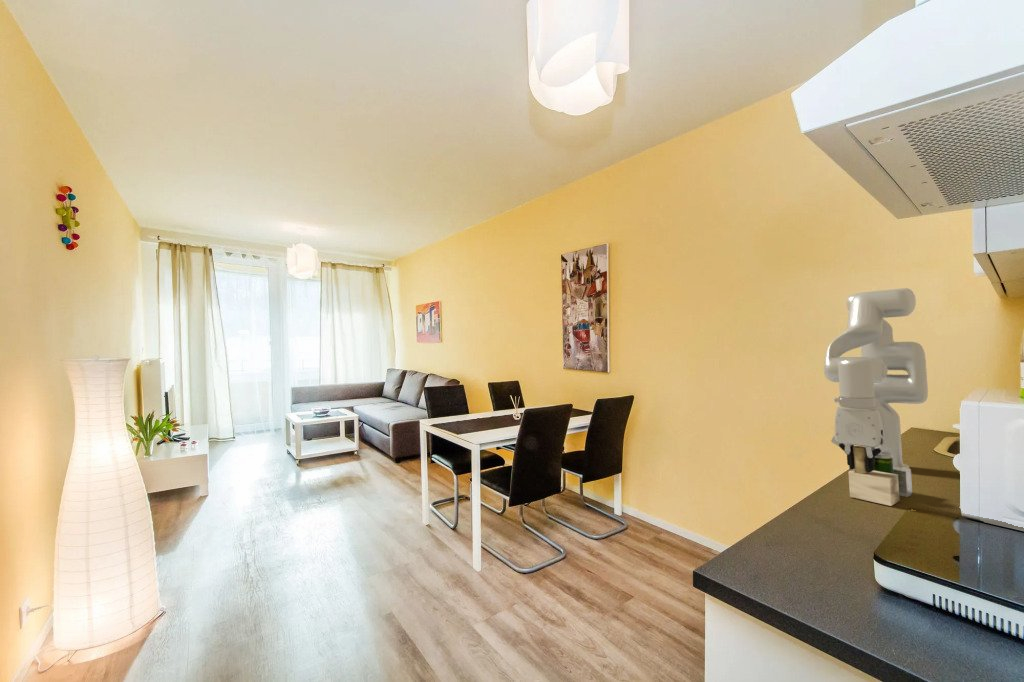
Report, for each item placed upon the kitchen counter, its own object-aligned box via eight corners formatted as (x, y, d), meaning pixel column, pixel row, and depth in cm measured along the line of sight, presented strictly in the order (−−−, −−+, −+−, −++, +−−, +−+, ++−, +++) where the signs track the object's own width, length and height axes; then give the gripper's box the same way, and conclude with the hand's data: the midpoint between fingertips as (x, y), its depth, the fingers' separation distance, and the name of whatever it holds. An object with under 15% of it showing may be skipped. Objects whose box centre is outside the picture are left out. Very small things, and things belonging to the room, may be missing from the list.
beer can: (896, 495, 119) (894, 452, 119) (893, 500, 116) (890, 455, 116) (872, 490, 123) (869, 449, 123) (867, 495, 120) (865, 452, 120)
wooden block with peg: (858, 492, 122) (855, 443, 122) (899, 500, 114) (896, 448, 115) (849, 496, 119) (846, 446, 119) (891, 506, 111) (887, 452, 111)
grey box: (872, 486, 127) (870, 462, 127) (912, 493, 120) (910, 468, 120) (867, 488, 125) (865, 464, 125) (907, 497, 117) (905, 471, 118)
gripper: (817, 402, 123) (821, 466, 122) (890, 407, 109) (894, 479, 109) (829, 399, 127) (832, 461, 126) (900, 404, 113) (905, 474, 113)
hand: (861, 469), depth 117 cm, fingers closed on wooden block with peg, 3 cm apart
